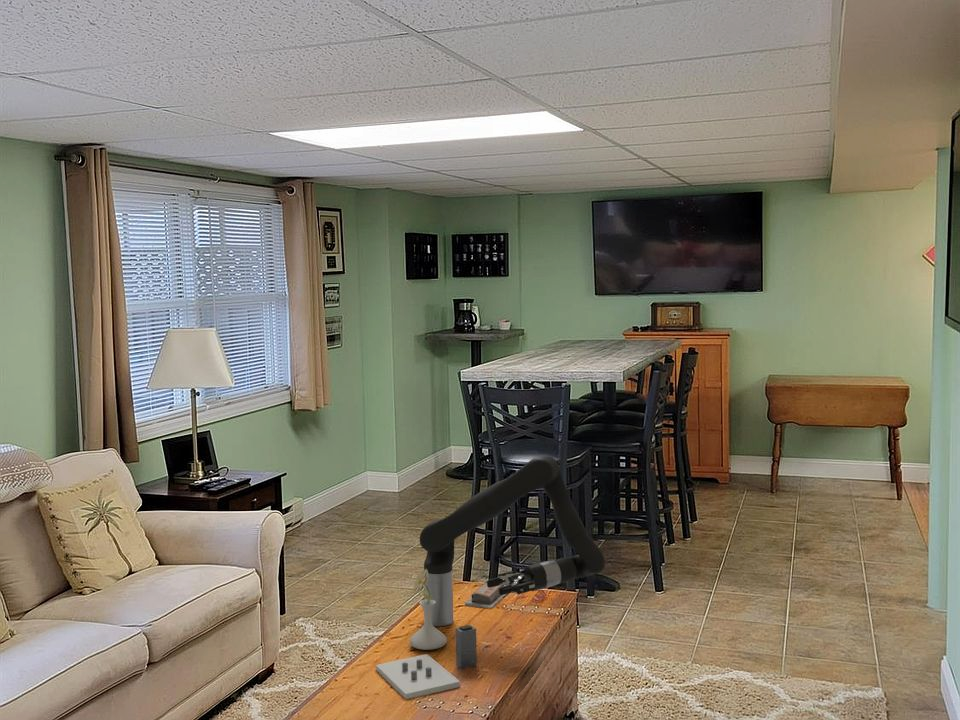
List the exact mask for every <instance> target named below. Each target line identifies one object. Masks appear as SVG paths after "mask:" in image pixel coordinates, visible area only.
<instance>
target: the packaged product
mask: <svg viewBox="0 0 960 720" xmlns="http://www.w3.org/2000/svg"><path fill="white" fill-rule="evenodd" d="M502 586H505V585H499V586H495V587H491V588H488V587H487V581H485V582H484V583H483V584H482V585H480V586H479V587H478V588H477V589H476V590H474V591H473V592H472V593H471V597H469V598H468V599H467V600H465V602H464V606H465V607H471V606H472V607H473V606H474V607H473V608H479V607H482V608H481V609H487V608H490V609H491V608H492V609H493V608H494V607H495V606H496V605H497V604H498V603H499V601H500V600H501V599H502V598H503V597H504V596H505V597H506V596H507V595H508V594H504V595H500V594H499V587H502ZM505 597H504V598H505ZM504 598H503V599H504ZM503 599H502V600H503ZM502 600H501V601H502ZM501 601H500V602H501ZM492 609H491V610H492Z"/></svg>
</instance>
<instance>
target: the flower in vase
mask: <svg viewBox="0 0 960 720" xmlns="http://www.w3.org/2000/svg"><path fill="white" fill-rule="evenodd" d="M427 580H428V570H427V569H426V570H425V571H424V568H422V569H421V570H420V572H417V576H416V579H415V580H414V581H413V584H414V586H413V589H412V591H413V593H414V594H420V592H422V596H423V597H424V598H425V597H426V598H427V599H426V600H425V599H422V600H420V601H419V605H420V606H421V608H422V610H423V619H424V621H423V625H422V627H421V628H420V629H418V630H417V631H416V632H415V633H414V634H412V635H411V637H410V639H409V644H410V645H411V646H412V647H413V648H414V649H418V650H424V651H425V650H426V651H432V650H436V649H440V648H443V647H444V646H445V645H446V644H447V643H448V639H447V637H446V635H445V634H444V633H443V632H441V631H440V630H438V629H437V628H436V626H433V625H432V609H433V606H434V604H435V603H436V601H434V600H430V597H431V595H430V593H429V589H428V587H427V585H426V583H427ZM424 586H426V588H427V590H428V591H427V590H426V589H425V588H424Z"/></svg>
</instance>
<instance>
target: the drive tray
mask: <svg viewBox="0 0 960 720" xmlns="http://www.w3.org/2000/svg"><path fill="white" fill-rule="evenodd" d="M375 670H377V671H378V672H379V673H378V672H377V671H376V672H377V673H378V674H379V675H380V676H381V677H383V678H384V679H385V681H386V682H388V683H389V685H391V686H392V687H393V688H394V690H396V692H398V693H399V694H400V695H401V696H402V698H404V699H405V700H410V699H414V698H417V697H418V698H419V697H423V696H426V695H430V694H431V695H432V694H435V693H438V692H443V691H447V690H448V691H449V690H453V689H456V688H460V687H461V682H460V680H459V679H458V678H456V677H455V676H454V675H453V674H451V673H450V672H449V671H448V670H446V668H445V667H443V666H442V665H441V664H439V663H438V662H437V661H436V660H435V659H433V658H432V657H431V656H430V655H429V654H428V653H427V654H421V655H417V656H411V657H407V658H402V659H397V660H392V661H388V662H384V663H379V664H375ZM422 695H423V696H422ZM413 697H414V698H413ZM409 698H410V699H409Z"/></svg>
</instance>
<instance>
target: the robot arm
mask: <svg viewBox="0 0 960 720" xmlns="http://www.w3.org/2000/svg"><path fill="white" fill-rule="evenodd" d="M541 488H543V490H544V492H545V493H546V494H547V496H548V498H549V500H550V502H551V505H552V509H553V512H554V516H555V520H556V523H557V525H558V528H559V530H560V532H561V535H562V536H563V538H564V540H565V541H566V544H567V545H568V547H569V548H570V549H572V550H575V551H576V553H577V554H576V555H573V556H569V557H561V558H558V559H553V560H547V561H541V562H538V563H534V564H530V565H526V566H524V568H523V570H522V571H523V572H517V571H516V570H511V571H507V572H502V573H498V574H496V577H495V578H489V579H487V580H486V582H487V587H488V588H491V587H495V586H499V585H504V586H502V587H499V594H500V595H504V594H507V595H508V594H517V595H521V594H522V595H523V594H524V593H529V592H535V591H536V592H537V591H539V590H542V589H548V588H550V587H554V586H556V585H559V584H562V583H567V582H570V581H572V580H577V579H582V578H586V577H590V576H593V575H597V574H600V573H601V572H603V570H605V568H606V567H605V566H606V559H605V557H604V554H603V552H602V550H601V549H600V547H599V546H598V545H597V544H596V543H595V540H593V539H592V538H591V536H590V535H589V534H588V531H587V529H586V527H585V526H584V523H583V521H582V520H581V518H580V516H579V513H578V512H577V510H576V508H575V505H574V504H573V502H572V499H571V497H570V494H569V492H568V489H567V486H566V484H565V482H564V478H563V476H562V472H561V469H560V466H559V464H558V462H557V460H556V459H555V458H554V457H553V456H551V455H547V454H542V455H538V456H535V457H533V458H532V459H530V460H529V461H528V462H527V463H526V464H524V465H523V466H522V467H520V468H519V469H518V470H516V471H515V472H514V473H513V474H511V475H510V476H508V477H507V478H504V479H502V480H500V481H498V482H496V483H493V484H492V485H490V486H487V487H486V488H484V489H483V490H481V491H479V492H477V494H475V495H473V496H472V497H470V498H469V499H468V500H466V501H465V502H464V503H462V504H461V505H460V506H459V507H458V508H457V509H455V510H454V511H453V512H452V513H450V514H449V515H448V516H445V517H444V518H442V519H441V518H440V519H434V520H433V521H431V522H430V523H428V524H427V525H426V526H424V527H423V529H422V530H421V533H420V535H419V544H420V546H421V548H422V549H424V550H425V551H426V556H425V559H424V563H423V569H424V571H425V570H426V569H427V570H428V580H427V583H426V585H427V587H428V589H429V593H430V595H431V597H430V600H434V601H436V603H435V604H434V606H433V609H432V625H433V626H434V627H445V626H449V625H451V624H453V623H454V592H453V591H454V590H453V589H454V582H453V576H454V575H453V563H454V560H455V540H456V539H457V538H459V537H461V536H462V535H464V534H465V533H467V532H470V531H471V530H474V529H476V528H479V527H480V526H482V525H484V524H486V523H488V522H490V521H491V520H493V519H495V518H496V517H498V516H499V515H501V514H503V513H504V512H506V511H507V510H509V508H511V507H512V506H513V504H515V503H516V502H517V501H518V500H519V499H521V498H522V497H524V496H526V495H528V494H530V493H532V492H534V491H536V490H539V489H541ZM424 588H425V589H426V590H427V588H426V586H424ZM424 588H423V589H424ZM427 591H428V590H427ZM426 599H427V598H426V597H425V596H424V600H426Z"/></svg>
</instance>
